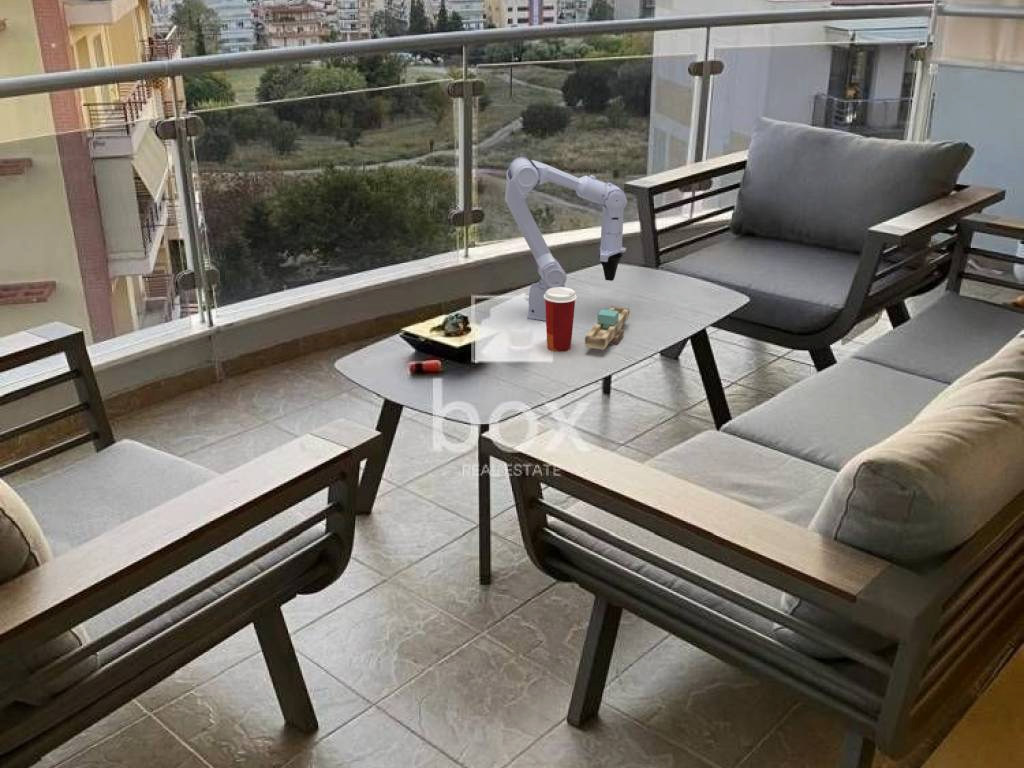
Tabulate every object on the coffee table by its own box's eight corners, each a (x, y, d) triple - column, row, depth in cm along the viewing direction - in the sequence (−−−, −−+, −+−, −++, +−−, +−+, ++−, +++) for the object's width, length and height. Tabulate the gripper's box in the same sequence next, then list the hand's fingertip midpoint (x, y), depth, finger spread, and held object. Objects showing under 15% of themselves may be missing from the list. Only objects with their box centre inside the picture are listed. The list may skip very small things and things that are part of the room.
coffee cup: (580, 345, 260) (582, 289, 253) (565, 355, 253) (567, 299, 247) (551, 338, 263) (553, 284, 257) (536, 349, 257) (537, 293, 251)
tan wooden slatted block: (607, 357, 252) (608, 340, 250) (580, 353, 255) (581, 336, 253) (632, 325, 273) (633, 309, 271) (607, 321, 275) (607, 305, 273)
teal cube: (613, 330, 260) (614, 316, 258) (597, 328, 261) (597, 314, 259) (618, 325, 263) (618, 311, 261) (601, 322, 264) (602, 309, 263)
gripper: (619, 240, 263) (616, 289, 269) (633, 226, 276) (630, 273, 281) (593, 237, 265) (591, 286, 271) (608, 223, 278) (606, 270, 283)
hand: (609, 279), depth 276 cm, fingers closed
